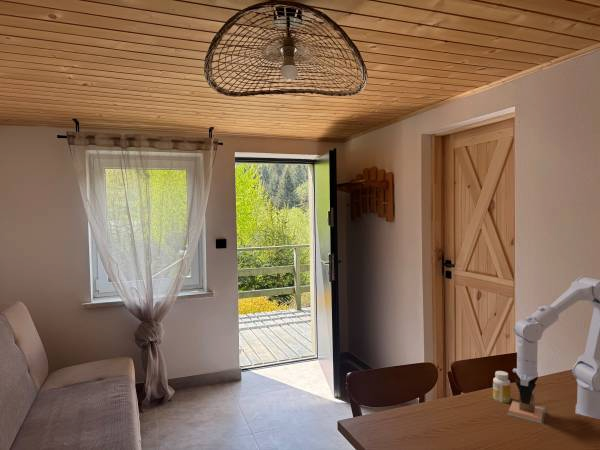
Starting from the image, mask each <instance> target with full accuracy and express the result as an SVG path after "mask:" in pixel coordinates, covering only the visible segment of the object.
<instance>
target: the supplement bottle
mask: <svg viewBox="0 0 600 450" xmlns="http://www.w3.org/2000/svg"><path fill="white" fill-rule="evenodd" d="M494 376H495V377H493V379H492V381H493V382H492V398H493V400H495V401H497V402H500V403H510V402H511V381H510V380H509V373H508V372H507V371H503V370H497V371H495V373H494Z"/></svg>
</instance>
